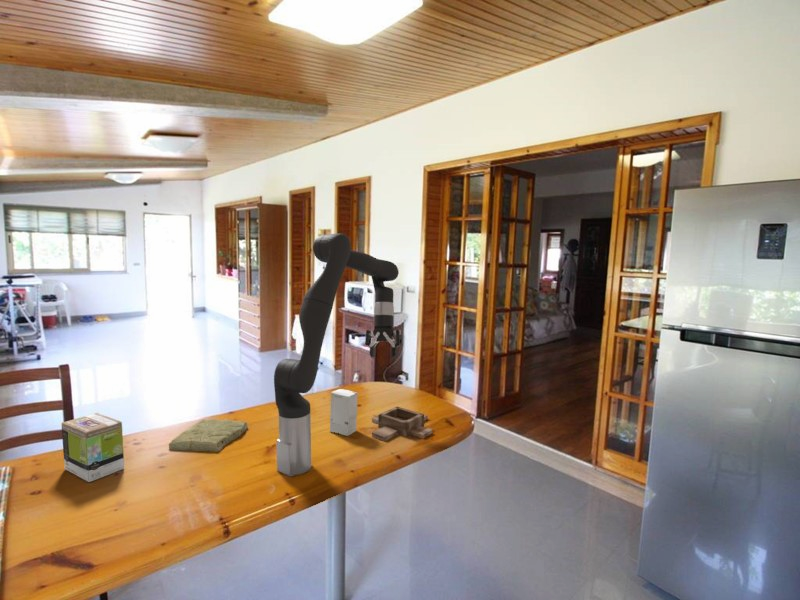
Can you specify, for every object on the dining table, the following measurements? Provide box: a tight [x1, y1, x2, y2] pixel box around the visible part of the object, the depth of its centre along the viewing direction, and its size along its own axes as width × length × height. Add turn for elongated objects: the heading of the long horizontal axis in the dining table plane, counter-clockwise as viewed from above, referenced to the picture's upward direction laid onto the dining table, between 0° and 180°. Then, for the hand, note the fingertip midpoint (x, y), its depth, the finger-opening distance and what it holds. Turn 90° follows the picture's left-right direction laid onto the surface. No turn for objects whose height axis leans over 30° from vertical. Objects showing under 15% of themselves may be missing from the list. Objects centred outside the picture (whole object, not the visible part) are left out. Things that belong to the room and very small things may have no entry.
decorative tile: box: [168, 418, 249, 453], centre depth 150 cm, size 19×20×4 cm
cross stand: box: [371, 406, 433, 442], centre depth 160 cm, size 26×24×5 cm
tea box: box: [61, 412, 125, 483], centre depth 127 cm, size 15×10×15 cm
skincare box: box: [329, 388, 359, 437], centre depth 155 cm, size 8×6×15 cm
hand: (383, 357), depth 161 cm, fingers open, 8 cm apart
